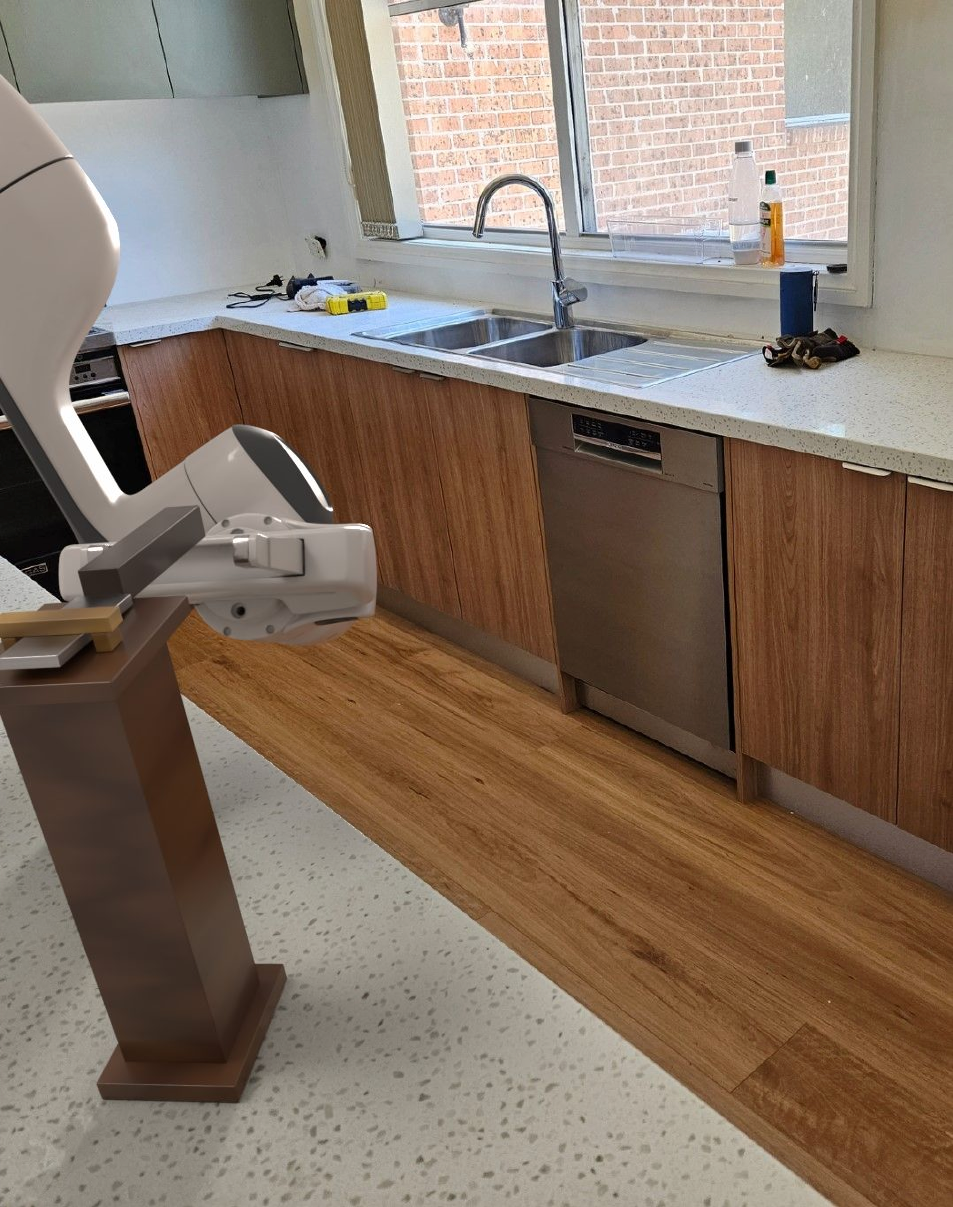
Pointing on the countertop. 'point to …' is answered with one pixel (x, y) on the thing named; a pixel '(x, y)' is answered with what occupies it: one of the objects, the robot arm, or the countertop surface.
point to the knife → (115, 581)
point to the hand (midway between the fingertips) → (166, 554)
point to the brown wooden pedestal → (139, 851)
